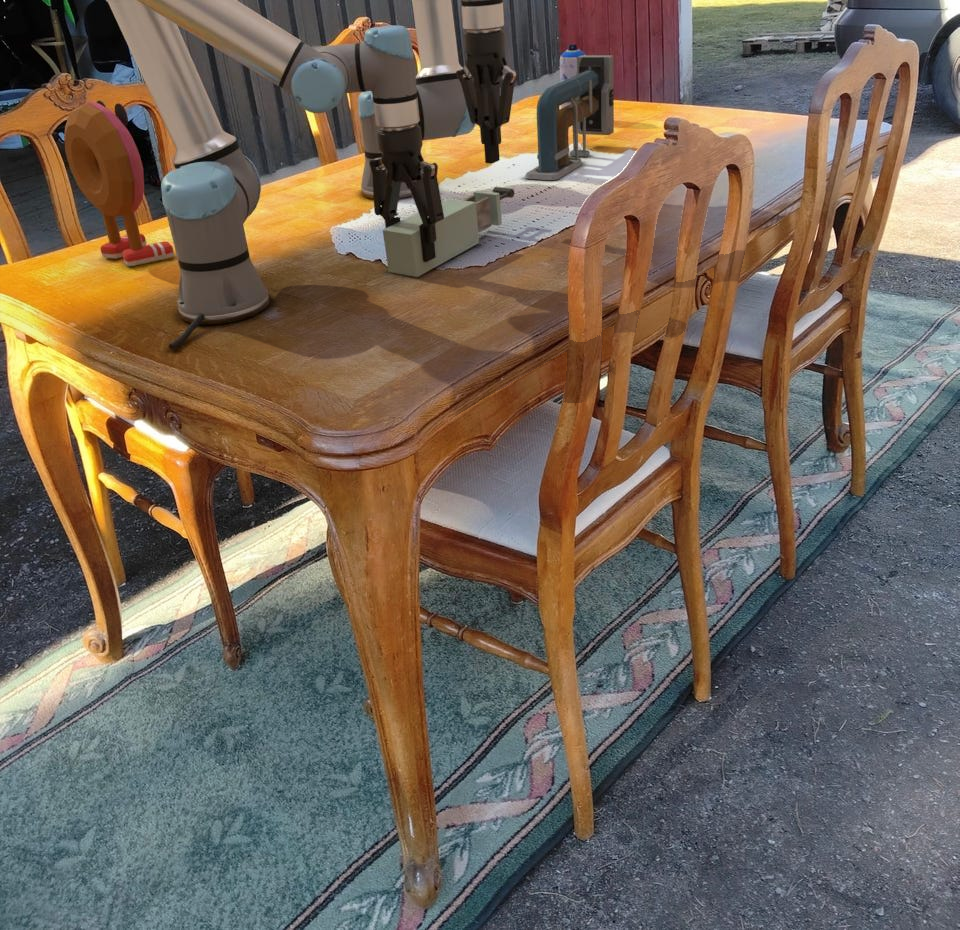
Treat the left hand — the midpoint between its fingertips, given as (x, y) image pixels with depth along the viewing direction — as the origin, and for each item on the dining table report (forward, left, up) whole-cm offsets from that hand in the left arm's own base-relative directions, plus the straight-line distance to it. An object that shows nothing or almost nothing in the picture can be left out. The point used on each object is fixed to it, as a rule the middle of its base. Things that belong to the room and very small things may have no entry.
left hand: (413, 256), depth 176 cm
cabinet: (+6, -2, -2) cm, 6 cm away
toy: (+2, +61, -2) cm, 61 cm away
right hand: (+25, -9, +11) cm, 28 cm away
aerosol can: (+125, -3, -2) cm, 125 cm away
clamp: (+78, -12, -2) cm, 79 cm away
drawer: (+17, -6, -1) cm, 18 cm away
